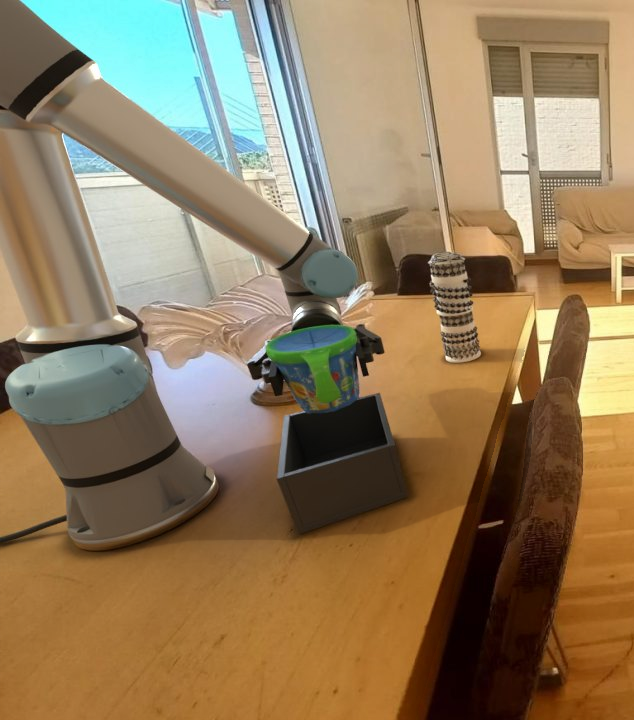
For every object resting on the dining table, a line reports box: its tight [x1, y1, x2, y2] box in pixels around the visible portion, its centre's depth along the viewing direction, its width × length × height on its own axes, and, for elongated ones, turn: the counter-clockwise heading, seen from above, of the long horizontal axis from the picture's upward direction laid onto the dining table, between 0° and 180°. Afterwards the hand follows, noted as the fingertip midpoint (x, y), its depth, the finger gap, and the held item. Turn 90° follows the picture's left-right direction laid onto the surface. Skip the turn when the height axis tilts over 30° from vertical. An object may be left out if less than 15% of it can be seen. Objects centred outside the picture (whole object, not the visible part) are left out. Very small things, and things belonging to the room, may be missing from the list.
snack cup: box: [265, 324, 360, 414], centre depth 66 cm, size 16×10×10 cm
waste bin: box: [276, 392, 409, 535], centre depth 71 cm, size 14×19×9 cm
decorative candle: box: [427, 251, 482, 364], centre depth 111 cm, size 9×9×25 cm
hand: (321, 376), depth 62 cm, fingers closed on snack cup, 9 cm apart
